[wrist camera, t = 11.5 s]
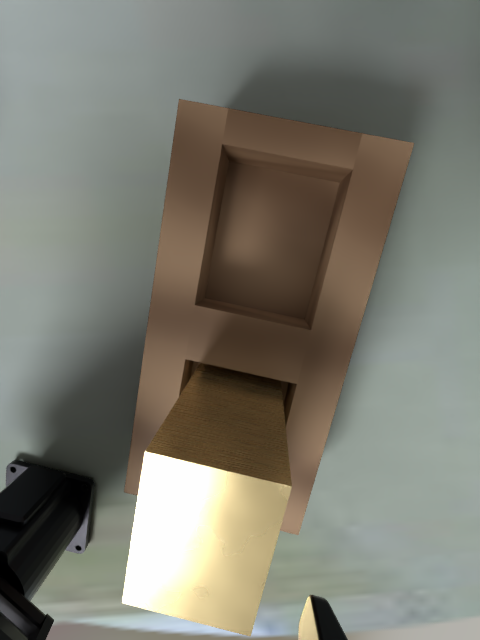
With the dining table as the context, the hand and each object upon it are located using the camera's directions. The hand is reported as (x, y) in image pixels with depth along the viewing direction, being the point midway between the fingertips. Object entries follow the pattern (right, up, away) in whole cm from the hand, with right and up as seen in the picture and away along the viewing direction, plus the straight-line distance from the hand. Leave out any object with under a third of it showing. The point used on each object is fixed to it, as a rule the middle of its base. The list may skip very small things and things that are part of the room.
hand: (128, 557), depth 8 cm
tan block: (+2, 0, +11) cm, 11 cm away
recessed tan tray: (+3, +5, +12) cm, 14 cm away
